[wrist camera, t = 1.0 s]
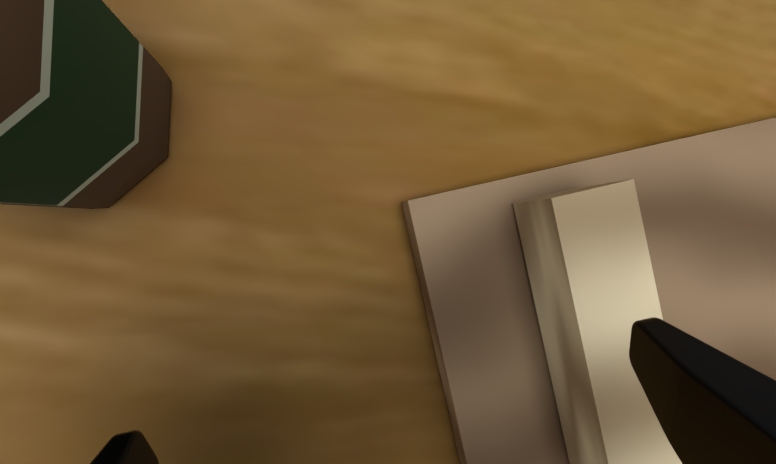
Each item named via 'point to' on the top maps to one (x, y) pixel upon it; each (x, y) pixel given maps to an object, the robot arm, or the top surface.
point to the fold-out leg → (594, 318)
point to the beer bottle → (76, 105)
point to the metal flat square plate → (669, 263)
